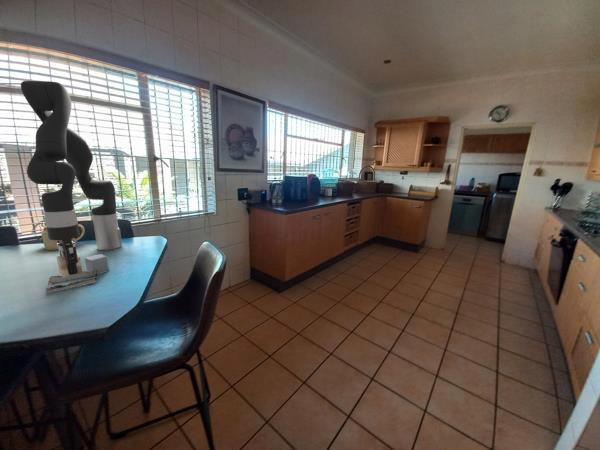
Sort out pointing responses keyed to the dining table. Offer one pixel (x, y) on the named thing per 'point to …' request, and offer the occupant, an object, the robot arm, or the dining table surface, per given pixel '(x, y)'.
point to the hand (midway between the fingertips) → (71, 271)
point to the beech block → (63, 266)
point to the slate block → (97, 263)
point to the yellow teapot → (53, 243)
